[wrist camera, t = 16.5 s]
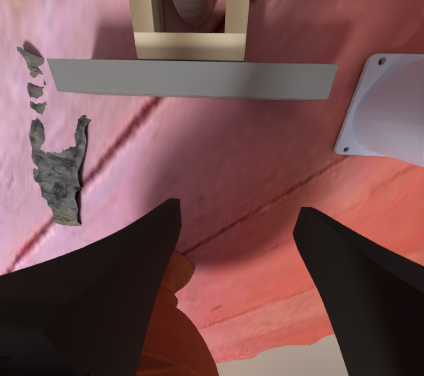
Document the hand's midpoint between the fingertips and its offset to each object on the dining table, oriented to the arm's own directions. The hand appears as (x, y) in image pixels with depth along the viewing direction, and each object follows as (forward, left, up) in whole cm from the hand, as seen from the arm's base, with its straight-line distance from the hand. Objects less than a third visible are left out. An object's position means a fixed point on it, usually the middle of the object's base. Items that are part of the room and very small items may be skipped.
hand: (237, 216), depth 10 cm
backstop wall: (+4, -8, -9) cm, 13 cm away
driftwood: (+20, +1, -10) cm, 23 cm away
